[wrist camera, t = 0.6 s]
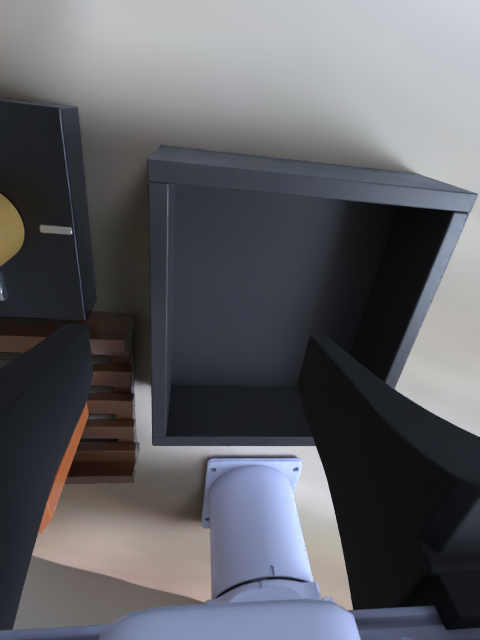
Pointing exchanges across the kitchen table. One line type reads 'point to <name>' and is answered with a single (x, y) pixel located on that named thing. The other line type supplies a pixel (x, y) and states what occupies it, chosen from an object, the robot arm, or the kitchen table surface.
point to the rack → (94, 393)
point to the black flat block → (46, 213)
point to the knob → (9, 230)
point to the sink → (281, 283)
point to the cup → (63, 471)
